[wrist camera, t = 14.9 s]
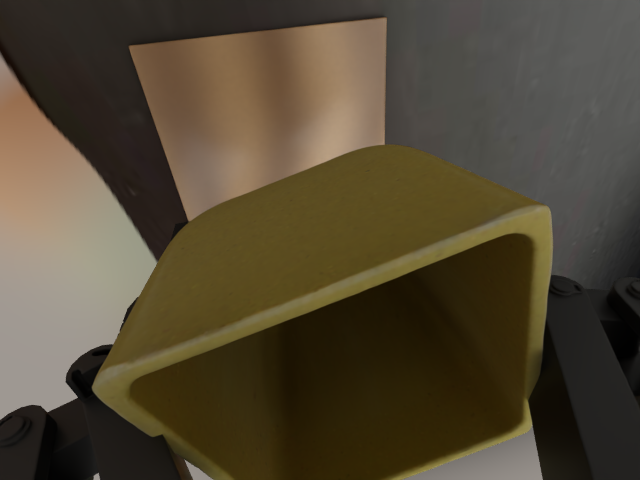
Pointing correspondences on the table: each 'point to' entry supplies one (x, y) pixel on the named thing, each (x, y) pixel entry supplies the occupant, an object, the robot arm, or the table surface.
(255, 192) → the flower pot
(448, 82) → the table surface
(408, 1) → the table surface
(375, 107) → the brown wooden board
